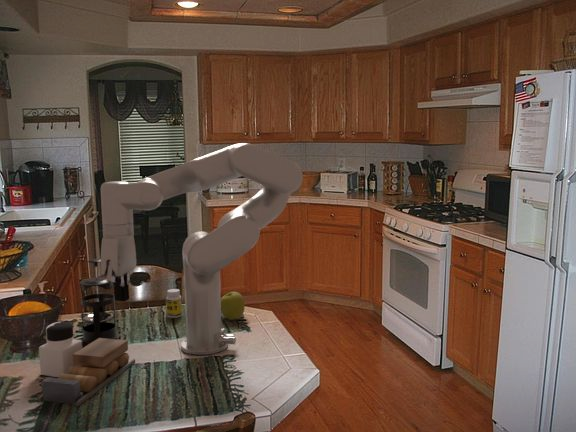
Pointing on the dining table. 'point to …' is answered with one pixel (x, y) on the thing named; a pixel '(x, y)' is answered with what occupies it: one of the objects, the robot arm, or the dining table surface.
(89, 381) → the roller
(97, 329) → the french press
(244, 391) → the dining table surface
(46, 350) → the medicine bottle
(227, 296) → the apple
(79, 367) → the track
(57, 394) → the block
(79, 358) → the slab
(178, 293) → the supplement bottle
